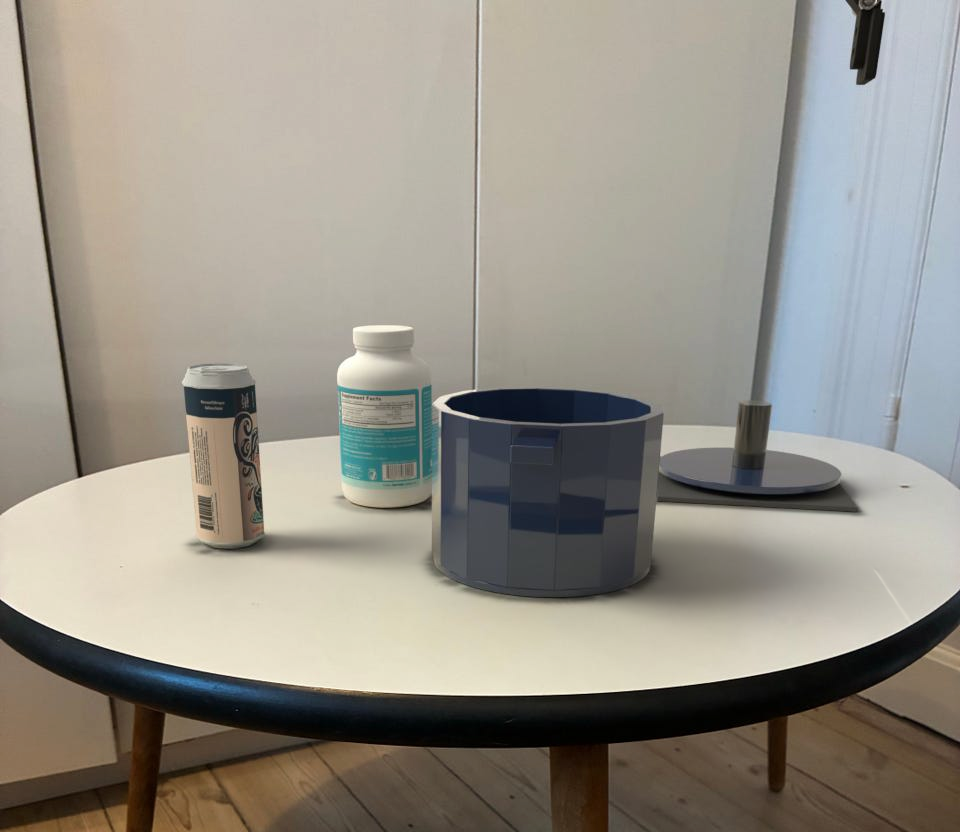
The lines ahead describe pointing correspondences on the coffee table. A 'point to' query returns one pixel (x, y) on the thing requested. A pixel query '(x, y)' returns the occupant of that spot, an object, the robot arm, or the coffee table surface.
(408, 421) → the pill bottle
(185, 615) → the coffee table surface
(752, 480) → the lid
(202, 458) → the beer can
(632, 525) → the pot
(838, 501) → the trivet
